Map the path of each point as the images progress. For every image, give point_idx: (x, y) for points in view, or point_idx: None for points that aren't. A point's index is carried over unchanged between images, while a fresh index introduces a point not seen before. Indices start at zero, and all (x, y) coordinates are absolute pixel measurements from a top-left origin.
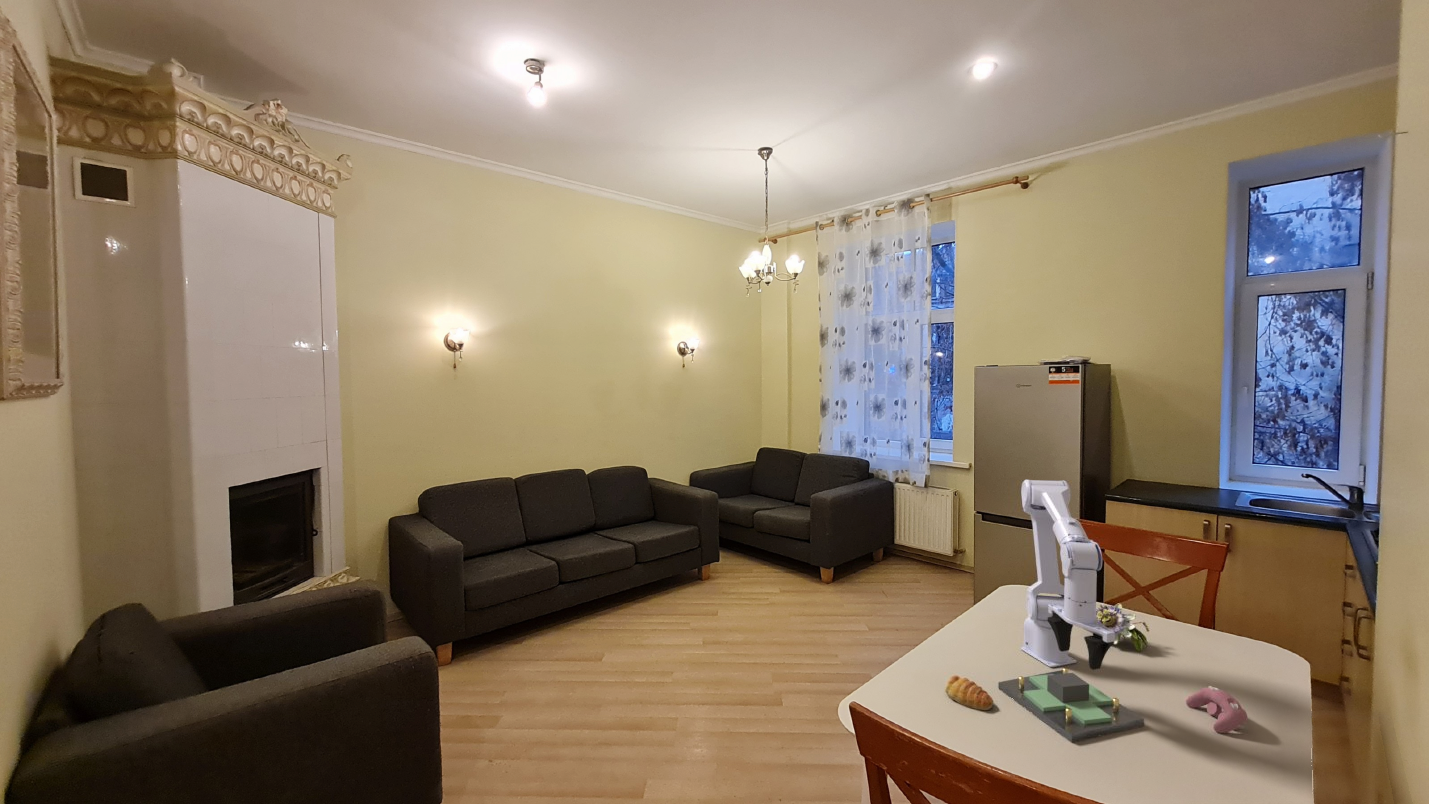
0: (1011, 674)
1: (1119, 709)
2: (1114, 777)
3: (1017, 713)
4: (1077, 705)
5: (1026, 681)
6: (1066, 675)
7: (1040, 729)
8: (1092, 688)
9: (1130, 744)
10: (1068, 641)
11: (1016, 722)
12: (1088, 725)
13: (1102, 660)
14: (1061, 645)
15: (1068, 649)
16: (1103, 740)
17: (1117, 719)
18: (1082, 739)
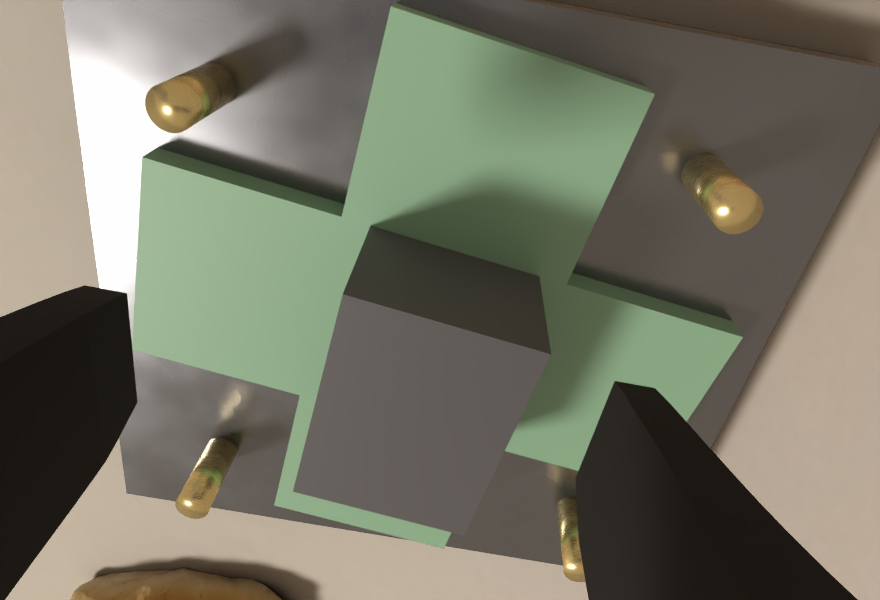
0: (5, 279)
1: (713, 123)
2: (857, 592)
3: (362, 547)
4: (532, 395)
5: (157, 362)
6: (356, 384)
7: (498, 563)
8: (446, 68)
9: (850, 346)
10: (33, 390)
11: (411, 593)
12: None
13: (720, 469)
14: (84, 466)
15: (121, 314)
16: (728, 425)
17: (752, 269)
18: None
